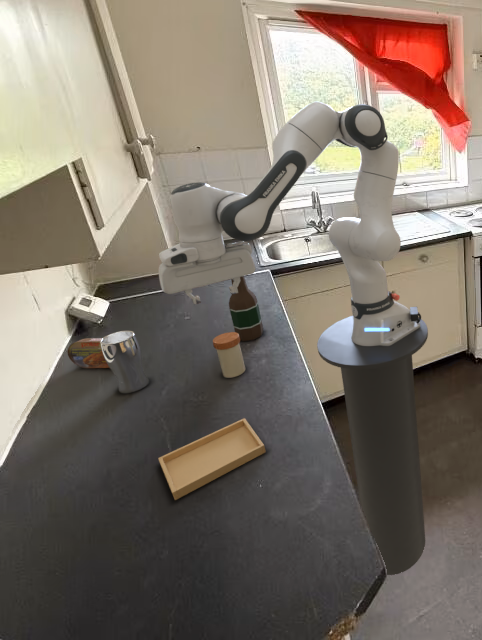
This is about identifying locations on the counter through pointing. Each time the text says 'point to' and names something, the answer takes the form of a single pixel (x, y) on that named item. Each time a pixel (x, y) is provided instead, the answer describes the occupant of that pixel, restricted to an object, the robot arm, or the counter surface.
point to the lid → (226, 340)
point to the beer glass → (125, 360)
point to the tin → (87, 353)
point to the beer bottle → (245, 313)
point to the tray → (210, 457)
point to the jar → (231, 361)
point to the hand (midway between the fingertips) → (216, 298)
